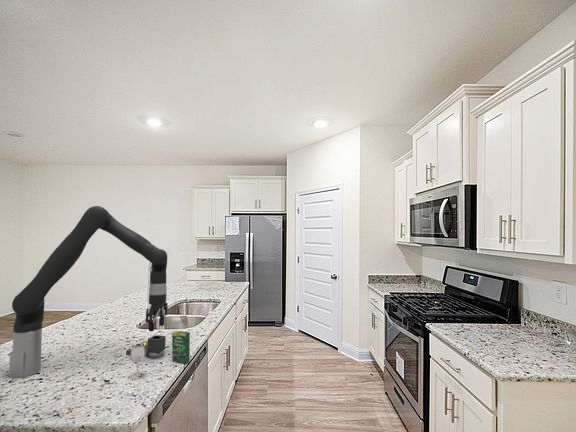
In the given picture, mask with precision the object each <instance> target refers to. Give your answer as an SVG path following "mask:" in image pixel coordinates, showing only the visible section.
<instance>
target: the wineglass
mask: <svg viewBox="0 0 576 432" xmlns="http://www.w3.org/2000/svg"><path fill="white" fill-rule="evenodd" d="M130 349H131V352H130V355H129V358H130V361H131V362H134V363H136V373H135V374H133V375H132V376H131V379H133V380H136V379H141V378H143V377H144V374H143V373H139V367H140V363H141V362H142V361H144V360H145V358H146V348H145V345H144V344H141V343H136V344H133V345H132V346H131V348H130Z"/></svg>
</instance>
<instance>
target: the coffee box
mask: <svg viewBox="0 0 576 432" xmlns="http://www.w3.org/2000/svg"><path fill="white" fill-rule="evenodd" d="M171 333H172V334H171V338H172V339H171V341H172V343H171V344H172V345H171V349H172V350H171V351H172V352H171V354H172V358H171V359H172V360H171V361H172V362H174V363H179V364H183V365H188V364H189V363H190V361H191V360H190V358H191V357H190V354H191V352H190V351H191V350H190V349H191V348H190V346H191V344H190V343H191V339H190V338H191V335H190V334H191V333H190V332H189V331H182V330H174V331H172V332H171Z"/></svg>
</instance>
